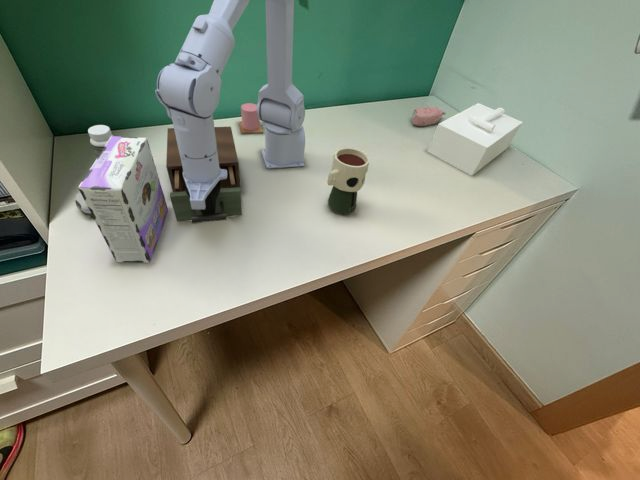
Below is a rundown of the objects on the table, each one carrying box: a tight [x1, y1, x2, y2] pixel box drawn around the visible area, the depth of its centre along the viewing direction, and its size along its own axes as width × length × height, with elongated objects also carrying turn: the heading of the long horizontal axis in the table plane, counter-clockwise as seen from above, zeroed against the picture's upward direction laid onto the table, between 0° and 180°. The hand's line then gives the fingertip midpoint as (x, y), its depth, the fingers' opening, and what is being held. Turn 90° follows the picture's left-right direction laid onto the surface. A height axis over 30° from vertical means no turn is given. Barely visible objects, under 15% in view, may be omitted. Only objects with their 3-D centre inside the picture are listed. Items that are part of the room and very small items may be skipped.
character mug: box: [327, 146, 371, 215], centre depth 69 cm, size 11×7×13 cm, turn 130°
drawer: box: [169, 166, 243, 224], centre depth 65 cm, size 18×12×6 cm
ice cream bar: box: [411, 106, 446, 127], centre depth 107 cm, size 6×4×15 cm
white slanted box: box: [426, 102, 524, 177], centre depth 95 cm, size 14×25×11 cm, turn 135°
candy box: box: [77, 135, 169, 264], centre depth 55 cm, size 14×6×16 cm, turn 5°
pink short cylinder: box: [240, 102, 260, 130], centre depth 90 cm, size 5×5×6 cm
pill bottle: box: [87, 124, 114, 159], centre depth 71 cm, size 5×5×8 cm
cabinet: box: [165, 126, 241, 192], centre depth 72 cm, size 15×14×8 cm
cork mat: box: [238, 120, 264, 135], centre depth 92 cm, size 6×6×1 cm
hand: (209, 212), depth 61 cm, fingers closed
